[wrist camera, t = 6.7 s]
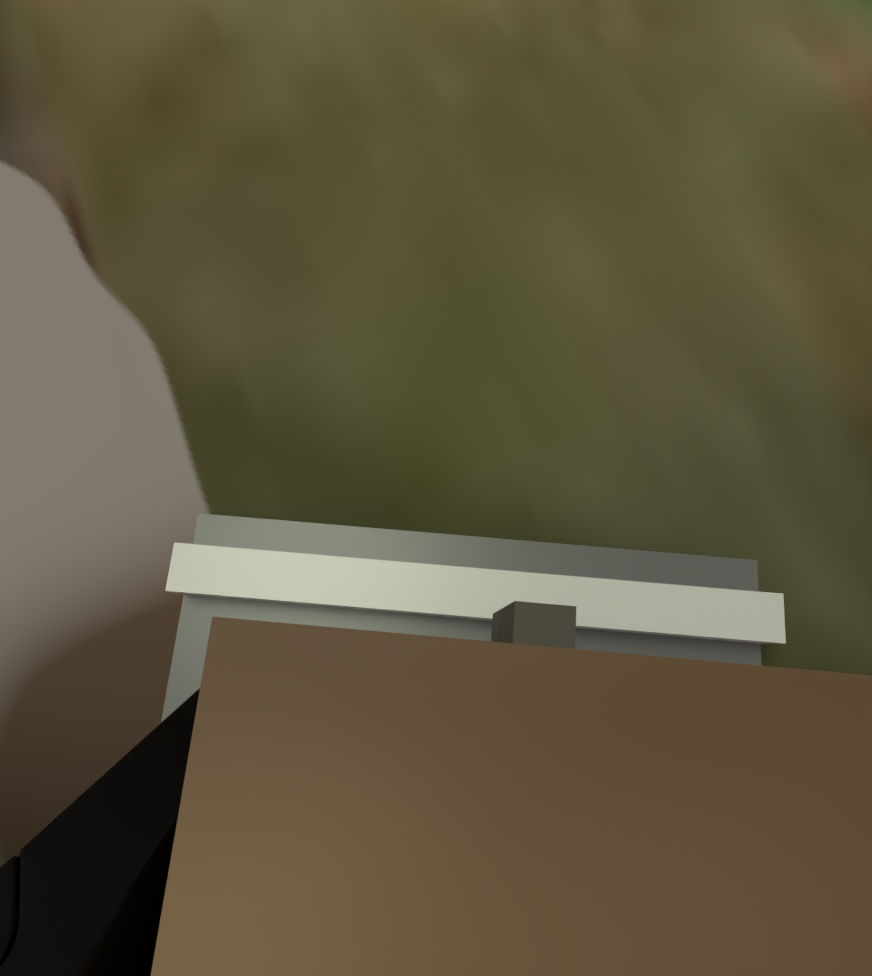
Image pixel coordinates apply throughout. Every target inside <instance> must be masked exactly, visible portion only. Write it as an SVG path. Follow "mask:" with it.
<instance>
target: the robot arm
mask: <svg viewBox="0 0 872 976" xmlns="http://www.w3.org/2000/svg"><path fill="white" fill-rule="evenodd" d="M199 691H200V688H199V689H198V690H197V691H196V692H195V693H193V694H192V695H191V696H190V697H189V698H188V699H187V700H186V701H185V702H183V703H182V704H181V705H180V706H179V707H178V708H177V709H176V710H175V711H173V712H172V713H171V714H170V715H169V716H168V717H167V718H166V719H165V720H163V721H162V722H161V723H160V724H159V725H158V726H157V727H156V728H155V729H154V730H152V731H151V732H150V733H149V734H148V735H147V736H146V737H145V738H144V739H143V740H141V741H140V742H139V743H138V744H137V745H136V746H135V747H134V748H132V749H131V750H130V751H129V752H128V753H127V754H126V755H125V756H124V757H123V758H121V759H120V760H119V761H118V762H117V763H116V764H115V765H114V766H113V767H111V768H110V769H109V770H108V771H107V772H106V773H105V774H104V775H103V776H101V777H100V778H99V779H98V780H97V781H96V782H95V783H94V784H93V785H91V786H90V787H89V788H88V789H87V790H86V791H85V792H84V793H83V794H82V795H80V796H79V797H78V798H77V799H76V800H75V801H74V802H73V803H72V804H70V805H69V806H68V807H67V808H66V809H65V810H64V811H63V812H62V813H60V814H59V815H58V816H57V817H56V818H55V819H54V820H53V821H52V822H50V823H49V824H48V825H47V826H46V827H45V828H44V829H43V830H42V831H41V832H40V833H38V834H37V835H36V836H35V837H34V838H33V839H32V840H31V841H29V842H28V843H27V844H26V845H25V846H24V847H23V848H22V849H21V851H20V856H13V857H11V858H10V859H9V860H8V861H7V862H6V863H5V864H3V866H1V867H0V976H151V971H152V965H153V959H154V953H155V948H156V942H157V936H158V930H159V924H160V918H161V913H162V907H163V901H164V895H165V889H166V883H167V878H168V872H169V866H170V860H171V854H172V848H173V843H174V837H175V831H176V825H177V819H178V813H179V808H180V802H181V796H182V790H183V784H184V779H185V773H186V767H187V761H188V755H189V749H190V744H191V738H192V732H193V726H194V720H195V714H196V709H197V703H198V697H199Z"/></svg>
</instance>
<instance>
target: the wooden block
mask: <svg viewBox="0 0 872 976" xmlns="http://www.w3.org/2000/svg"><path fill="white" fill-rule="evenodd" d="M575 636H576V606H566V605H555V604H544V603H533V602H521V601H514V602H512V603H510V604H509V605H507V606H505V607H504V608H502V609H500V610H498V611H497V612H495V613H493V618H492V634H491V641H480V640H469V639H458V638H447V637H436V636H425V635H414V634H402V633H391V632H380V631H369V630H358V629H346V628H335V627H324V626H313V625H302V624H291V623H280V622H268V621H257V620H246V619H235V618H224V617H213V616H212V621H211V627H210V633H209V639H208V644H207V650H206V656H205V662H204V668H203V674H202V679H201V685H200V691H199V697H198V703H197V709H196V714H195V720H194V726H193V732H192V738H191V744H190V749H189V755H188V761H187V767H186V773H185V779H184V784H183V790H182V796H181V802H180V808H179V813H178V819H177V825H176V831H175V837H174V843H173V848H172V854H171V860H170V866H169V872H168V878H167V883H166V889H165V895H164V901H163V907H162V913H161V918H160V924H159V930H158V936H157V942H156V948H155V953H154V959H153V965H152V971H151V976H872V676H871V675H860V674H849V673H838V672H827V671H815V670H804V669H793V668H782V667H771V666H760V665H748V664H737V663H726V662H715V661H704V660H693V659H681V658H670V657H659V656H648V655H637V654H626V653H614V652H603V651H592V650H581V649H575Z"/></svg>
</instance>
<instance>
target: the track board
mask: <svg viewBox="0 0 872 976" xmlns="http://www.w3.org/2000/svg"><path fill="white" fill-rule="evenodd" d="M166 591H169V592H173V593H178V594H183V595H184V597H183V602H182V608H181V613H180V619H179V625H178V630H177V636H176V641H175V647H174V652H173V658H172V664H171V669H170V675H169V681H168V687H167V692H166V697H165V703H164V709H163V715H162V720H161V722H162V721H163V720H165V719H166V718H167V717H168V716H169V715H170V714H171V713H172V712H173V711H175V710H176V709H177V708H178V707H179V706H180V705H181V704H182V703H183V702H185V701H186V700H187V699H188V698H189V697H190V696H191V695H192V694H193V693H195V692H196V691H197V690H198V689H199V688H200V685H201V679H202V674H203V668H204V662H205V656H206V650H207V644H208V639H209V633H210V627H211V621H212V616H213V617H224V618H235V619H246V620H257V621H268V622H280V623H291V624H302V625H313V626H324V627H335V628H346V629H358V630H369V631H380V632H391V633H402V634H414V635H425V636H436V637H447V638H458V639H469V640H480V641H491V634H492V618H493V613H495V612H497V611H498V610H500V609H502V608H504V607H505V606H507V605H509V604H510V603H512V602H514V601H521V602H533V603H544V604H555V605H566V606H576V636H575V649H581V650H592V651H603V652H614V653H626V654H637V655H648V656H659V657H670V658H681V659H693V660H704V661H715V662H726V663H737V664H748V665H760V666H762V662H761V644H786V639H785V619H784V599H783V594H780V593H768V592H759V589H758V565H757V560H750V559H738V558H726V557H714V556H702V555H690V554H678V553H666V552H654V551H643V550H631V549H619V548H607V547H595V546H583V545H571V544H559V543H547V542H535V541H523V540H511V539H499V538H487V537H475V536H463V535H451V534H439V533H427V532H415V531H403V530H391V529H379V528H367V527H355V526H343V525H331V524H319V523H307V522H295V521H283V520H271V519H259V518H247V517H235V516H223V515H211V514H198V519H197V524H196V530H195V535H194V540H193V544H185V543H174V547H173V552H172V558H171V563H170V568H169V574H168V580H167V585H166Z"/></svg>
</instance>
